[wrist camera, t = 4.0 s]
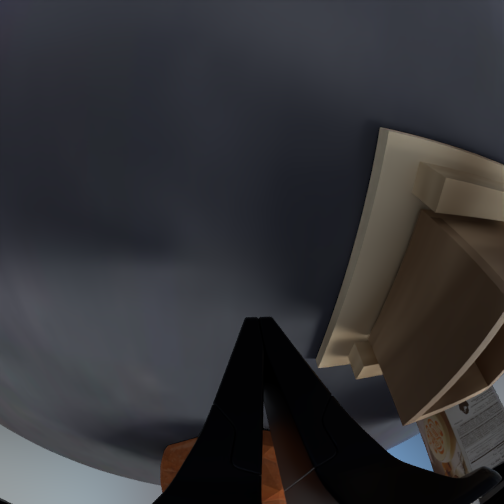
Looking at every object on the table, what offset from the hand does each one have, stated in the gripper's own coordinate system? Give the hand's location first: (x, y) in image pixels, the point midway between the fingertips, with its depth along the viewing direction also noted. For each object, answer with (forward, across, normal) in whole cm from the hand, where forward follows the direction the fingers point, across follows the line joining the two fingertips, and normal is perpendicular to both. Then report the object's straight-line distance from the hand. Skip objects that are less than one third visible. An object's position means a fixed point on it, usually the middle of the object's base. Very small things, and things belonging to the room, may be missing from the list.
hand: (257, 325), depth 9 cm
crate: (+2, -9, 0) cm, 9 cm away
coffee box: (+3, -22, +17) cm, 28 cm away
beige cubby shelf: (+2, -14, 0) cm, 14 cm away
